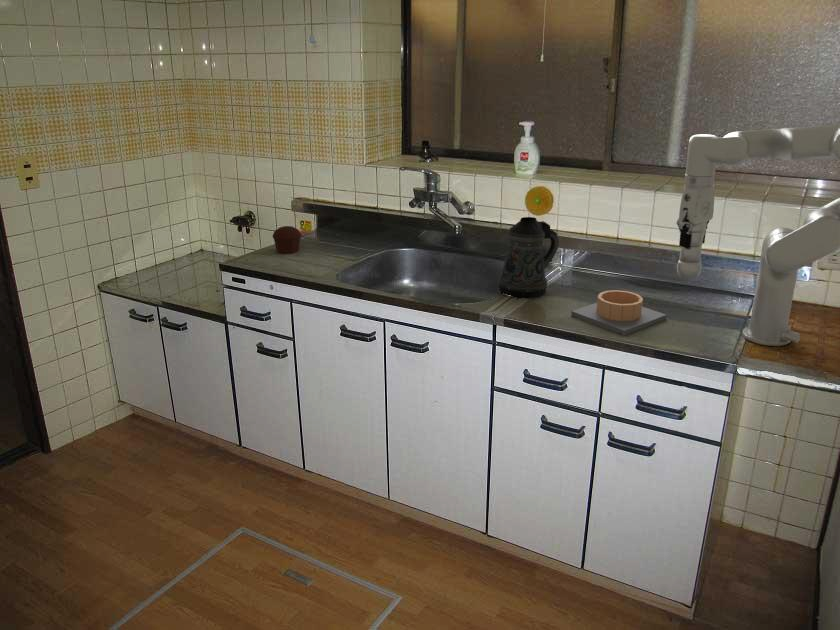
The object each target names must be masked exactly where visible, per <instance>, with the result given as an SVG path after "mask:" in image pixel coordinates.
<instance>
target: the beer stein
mask: <svg viewBox="0 0 840 630" xmlns="http://www.w3.org/2000/svg"><path fill="white" fill-rule="evenodd" d="M506 234H507V237H508V243H507V244H508V245H507V249H506V254H505V259H504V262H503V263H504V264H503V267H502V269H501V272H500V273H501V274H500V275H499V277H498V281H497V282H498V287H499V292H500V294H502V295H503V293H504V294H507V295H511V296H513V297H516V298H515V299H519V298H526V299H530V298H531V299H535V298H536V299H537V298H540V297H542V296H544V295H545V294H546V293H547V291H546V290H547V287H548V281H547V278H546V272H545V268H546V267H547V266H548V264H550V262H551V261H552V260H553V258H554V257H555V255H556V254H557V251H558V249H559V242H560V240H559V237H558V233H557V232H556V231H554V230H552V229H551V225H550V224H549V223H547V222H546V221H544V220H543V221H539V220H537V218H536V217H534V216H533V217H532V216H524V217H521V218H520V220H519V221H518V222H517V223H515V224H514V225H512V226H511V227H510V228H509V229H508V230H507V233H506ZM545 239H550V245H549V247H548V250H547V251H546V252H545V254H544V247H543V241H544V240H545ZM513 297H512V298H513Z"/></svg>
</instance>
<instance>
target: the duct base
mask: <svg viewBox="0 0 840 630" xmlns="http://www.w3.org/2000/svg"><path fill="white" fill-rule="evenodd" d="M596 298H597V301H596V302H594V303H592V304H588V305H586V306H583V307H580V308H576V309H574V310H571V315H572V317H574V318H576V317H577V318H576V319H579V318H580V320H582V321H584V320H585V321H584V322H587V321H588V323H590V322H591V323H590V324H592V323H593V325H595V324H596V325H595V326H598V327H600V326H601V328H603V327H604V328H603V329H606V330H608V329H609V331H611V330H612V332H614V331H615V332H614V333H616V332H618V333H617V334H619V333H621V334H620V335H622V334H624V335H623V336H626V335H625V334H627V335H629V334H631V332H632V333H634V331H635V332H637V331H640V330H642V329H644V328H647V327H649V326H652V325H654V324H655V325H656V324H657V323H660V322H663V321H665V320H667V314H665V313H664V312H659V311H657V310H654V309H650V308H648V307H644V306H643V302H644V297H642V296H641V295H639V294H638V293H635V292H631V291H627V290H618V289H615V290H605V291H602V292H599V293H598V295H597V297H596ZM628 333H629V334H628Z"/></svg>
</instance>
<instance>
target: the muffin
mask: <svg viewBox="0 0 840 630" xmlns="http://www.w3.org/2000/svg"><path fill="white" fill-rule="evenodd" d="M301 237H303V236H302V233H301V231H300V230H299V229H298V228H297V227H294V226H290V225H285V226H280V227H278V228H277V229H276V230H275V231H274V232H273V234H272V239H273V241H274V245H275V250H276V253H279V254H282V255H291V254H296V253H298V252H299V251H300V246H301Z"/></svg>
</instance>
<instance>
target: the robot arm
mask: <svg viewBox="0 0 840 630" xmlns="http://www.w3.org/2000/svg"><path fill="white" fill-rule="evenodd" d="M756 158H757V159H758V158H760V159H761V158H763V159H764V158H768V159H769V158H770V159H778V160H781V161H783V162H784V161H785V162H791V163H792V162H806V161H820V160H821V161H822V160H837V161H839V162H840V124H827V125H826V124H825V125H815V126H803V127H786V128H770V129H768V128H767V129H754V130H753V129H752V130H740V131H733V132H729V133H727V134H726V135H724V136H723V137H718V136H716V135H714V134H708V133H706V134H705V133H703V134H694V135H691V136H690V138H689V140H688V147H687V155H686V165H685V174H684V184H683V186H684V187H683V191H682V194H681V199H680V200H681V201H680V205H679V212H678V213H679V214H678V215H679V216H678V219H677V221H676V225H677V227H678V229H679V233H680V235H679V242H678V243H679V244H678V245H679V247H680V248H681V247H685V248H690V245H691V236H692V234H690V233H691V230H692V227H693V225H696V224H700V223H703V222H705V225H706V230H705V234H704V238H703V242H702V245H703V244H705V241H706V233H707V229H708V225H709V222H711V220H713V217H714V211H715V209H714V208H715V184H714V183H715V176H716V168H717V164H721V165H727V166H737V165H740V164H742V163H744V162H745V161H746V160H747V159H756ZM687 220H689V222H686V221H687ZM686 225H689V226H688V228H687V227H686ZM839 249H840V197H837V199H834V200H833V201H831V202H829V203H827V204H825V205H823V206H820V207H819V208H817V209H815V210H813V211H812V212H810V213H808V214H807V216H805V218H804V220H803V225H802V226H800V227H799V228H797V229H795V230H794V229H792V228H789V227H778V228H775V229H773V230H771V231H770V232H768V234H767V235H766V236H765V238H764V239H763V242H762V246H761V250H760V251H761V253H760V260H759V268H758V273H757V280H756V284H755V292H754V297H753V303H752V308H751V315H750V320H749V326H746V327H744V328H743V329H742V334H741V335H742V337H744V339H746V340H747V341H750V342H752V343H754V344H757V345H764V346H770V347H771V346H772V347H778V346H780V347H782V346H785V345H788V344H789V343H791V342H793V343H795V344H796V343H797V344H798V343H799V342H800V339H801V336H800V335H801V334H800V333H798V332H795V331H793V330H792V329H791V328H792V325H790V324H789V319H790V314H791V309H792V304H793V303H792V302H793V298H794V292H795V288H796V285H797V277H798V271H799V270H800V269H803V268H804V267H806V266H809V265H810V264H813V263H815V262H817V261H818V260H820V259H822V258H824V257H827V256H828V255H830V254H832V253H834V252H836V251H837V250H839Z"/></svg>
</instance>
